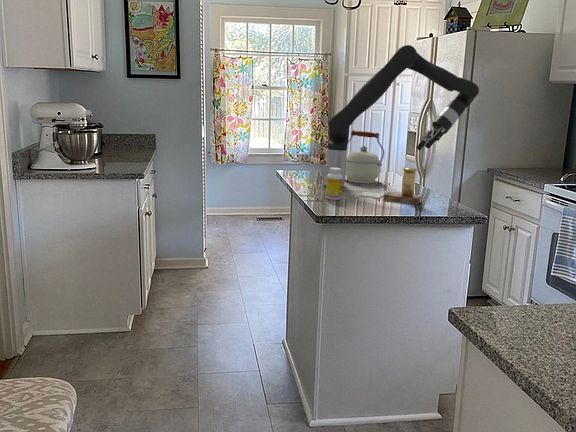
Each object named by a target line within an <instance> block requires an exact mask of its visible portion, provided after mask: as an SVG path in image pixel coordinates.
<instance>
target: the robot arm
mask: <svg viewBox="0 0 576 432" xmlns="http://www.w3.org/2000/svg"><path fill="white" fill-rule="evenodd" d="M406 69H409V70H411V71H413V72H417V73H418V74H420V75H422V76H424V77H425V78H427V79H429V80H430V82H433V83H435V85H438V86H440V87H441V88H442V89H444V90H446V91H448V92H453V91H455V92H457V93H458V94H457V95H456V96H455V97H454V99H452V100H451V101H450V102H449V103H448V104H447V106H445V108H443V110H442V111H441V112H440V113H439V114H438V115H437V116H436V118H435V119H434V120H433V121H432V123H431V125H432V128H431V129H429V130H427V131H426V132H425V133H424V135H423V136H422V137H420V139H419V141H420V142H419V143H418V144H417V146H416V147H415V148H416V150H418V151H421V150H422V149H423V148H424V147H425V148H426V149H427V150H428V149H430V148H431V147H432V146H433V145H434V144H435V143H436V142H439V141H440V140H441V138H442V137H443V136H444V135H447V133H448V132H449V131H450V129H451V128H452V127H453V126H454V125H455V124H456V122H457V121H458V120H459V118H460V117H461V115H463V113H464V112H465V110H466V109H467V108H468V107H469V106H470V105H471V104H472V103H473V102H474V100H475V99H476V97H477V96H478V95H479V93H480V88H479V86H478V85H477V84H476V83H475V82H474V81H472V80H469V79H466V78H463V77H461V76H460V77H459V76H457V75H456V74H455V73H453V72H450V71H449V70H447V69H445V68H443V67H440V66H439V65H436V64H434V63H432V62H430V61H429V60H427V59H426V58H424V57H423V56H422V55H420V53H418V52H417V50H416V48H415V47H414V46H412V45H410V44H405V45H402V46H401V47H399V48H398V49H397V50H396V51H395V53H394V54H393V55H392V56H391V58H390V59H389V61H388V62H387V63H386V64H385V65H384V66H383V67H382V68H380V69H379V70H378V71H377V72H376V73H375V74H374V75H373V76H372V77H371V78H369V80H367V81H366V82H365V83H364V84H363V85H362V86H361V88H359V90H358V91H357V92H356V93H355V95H353V97H352V98H351V99H350V101H348V103H347V104H346V105H345V106H344V107H343V108H342V109H341V110H339V111H338V112H337V113H336V114H335V115H333V116H332V117H331V118H330V119H329V120H328V126H327V127H328V130H329V135H328V140H327V141H328V142H327V148H326V149H327V151H326V161H325V163H326V164H325V165H324V172H323V186H326V184H327V175H328V174H330V168H340V169H341V172H340V174H341V175H342V176H343V182H342V188H343V187H344V186H345V179H346V175H345V170H346V158H347V156H348V155H347V154H348V145H349V143H348V141H349V139H350V137H349V136H350V127H351V125H352V124H354V122H355V121H356V119H357V118H358V117H360V115H362V114H363V113H364V112H366V111H367V110H368V109H369V108H370V107H372V106H373V105H374V104H375V103H376V102H377V101H378V100H380V99H381V97H383V95H384V94H385V93H386V92H387V91H388V89H389V88H390V87H391V85H392V84H393V82H394V81H395V80H396V78H397V77H398V76H400V75H401V74H402V73H403V72H404V71H405V70H406Z"/></svg>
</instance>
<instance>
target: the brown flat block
mask: <svg viewBox="0 0 576 432" xmlns="http://www.w3.org/2000/svg"><path fill="white" fill-rule="evenodd" d="M384 194H385V195H384V196H383V199H382V201H385V202H391V203H399V204H406V205H414V206H418V205H419V204H420V203H421V195H414V194H413V197H403V196H401V195H402V193H397V192H389V191H388V192H386V193H384Z"/></svg>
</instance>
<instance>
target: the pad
mask: <svg viewBox="0 0 576 432" xmlns="http://www.w3.org/2000/svg"><path fill="white" fill-rule="evenodd" d="M385 194H386V193H378V192H377V193H376V192H370V191H364V192H362V193H360V194H359V195H358V196H359V197H363V198H371V199H377V200H379V199H382V198H384V195H385Z"/></svg>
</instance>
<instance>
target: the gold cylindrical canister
mask: <svg viewBox="0 0 576 432" xmlns="http://www.w3.org/2000/svg"><path fill="white" fill-rule="evenodd" d="M402 170H403V177H402V184H401V185H402V187H401V194H402V195H401V196H403V197H413V195H414V191H415V180H416V172H417V171H418V169H417V168H415V167H409V166H408V167H403V168H402Z"/></svg>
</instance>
